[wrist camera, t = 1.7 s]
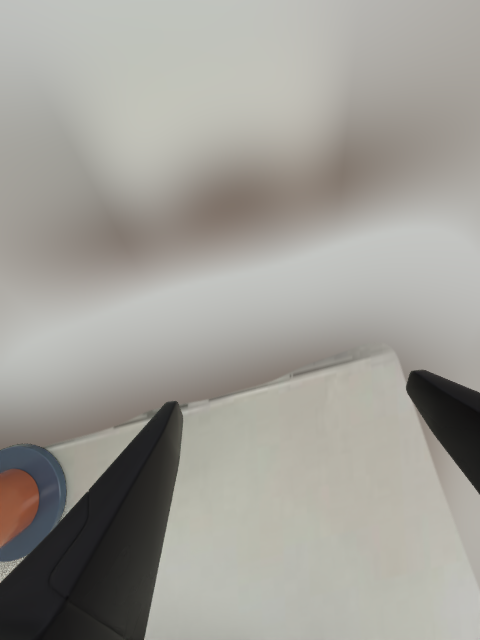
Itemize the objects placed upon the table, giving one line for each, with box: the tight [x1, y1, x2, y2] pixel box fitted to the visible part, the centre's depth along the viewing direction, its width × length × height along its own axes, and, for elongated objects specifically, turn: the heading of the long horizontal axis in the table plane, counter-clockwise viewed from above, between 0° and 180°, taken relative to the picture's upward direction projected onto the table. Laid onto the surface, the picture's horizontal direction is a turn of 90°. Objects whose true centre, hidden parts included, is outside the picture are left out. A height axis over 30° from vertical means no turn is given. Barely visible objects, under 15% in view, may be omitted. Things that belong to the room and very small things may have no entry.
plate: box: [0, 444, 66, 562], centre depth 22 cm, size 10×10×1 cm
